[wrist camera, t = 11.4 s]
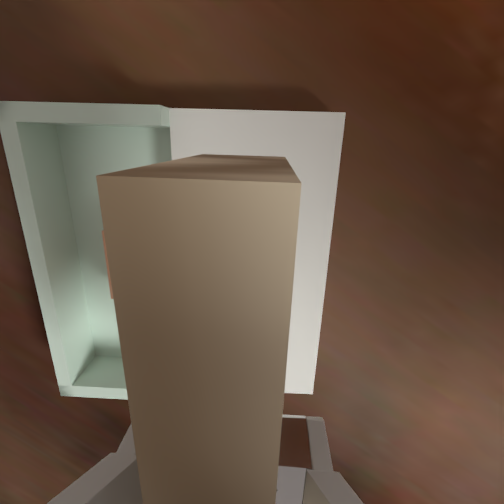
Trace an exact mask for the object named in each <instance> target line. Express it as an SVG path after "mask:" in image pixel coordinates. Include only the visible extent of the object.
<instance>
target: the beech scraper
mask: <svg viewBox="0 0 504 504" xmlns="http://www.w3.org/2000/svg"><path fill="white" fill-rule="evenodd" d="M96 180H97V187H98V194H99V201H100V208H101V215H102V222H103V229H104V236H105V243H106V250H107V257H108V264H109V271H110V278H111V285H112V292H113V299H114V306H115V312H116V319H117V326H118V333H119V340H120V347H121V354H122V361H123V368H124V375H125V382H126V389H127V396H128V403H129V410H130V417H131V424H132V431H133V438H134V445H135V452H136V459H137V466H138V473H139V480H140V487H141V493H142V500H143V504H275V501H276V489H277V476H278V464H279V452H280V440H281V428H282V415H283V403H284V391H285V379H286V367H287V354H288V342H289V330H290V318H291V305H292V293H293V281H294V269H295V257H296V244H297V232H298V220H299V208H300V196H301V182H300V180H299V178H298V177H297V175H296V174H295V172H294V170H293V169H292V167H291V165H290V164H289V162H288V161H287V159H286V157H277V156H246V155H215V154H201V155H196V156H191V157H186V158H181V159H176V160H171V161H166V162H161V163H156V164H151V165H146V166H141V167H136V168H131V169H126V170H121V171H116V172H111V173H106V174H101V175H96Z"/></svg>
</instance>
